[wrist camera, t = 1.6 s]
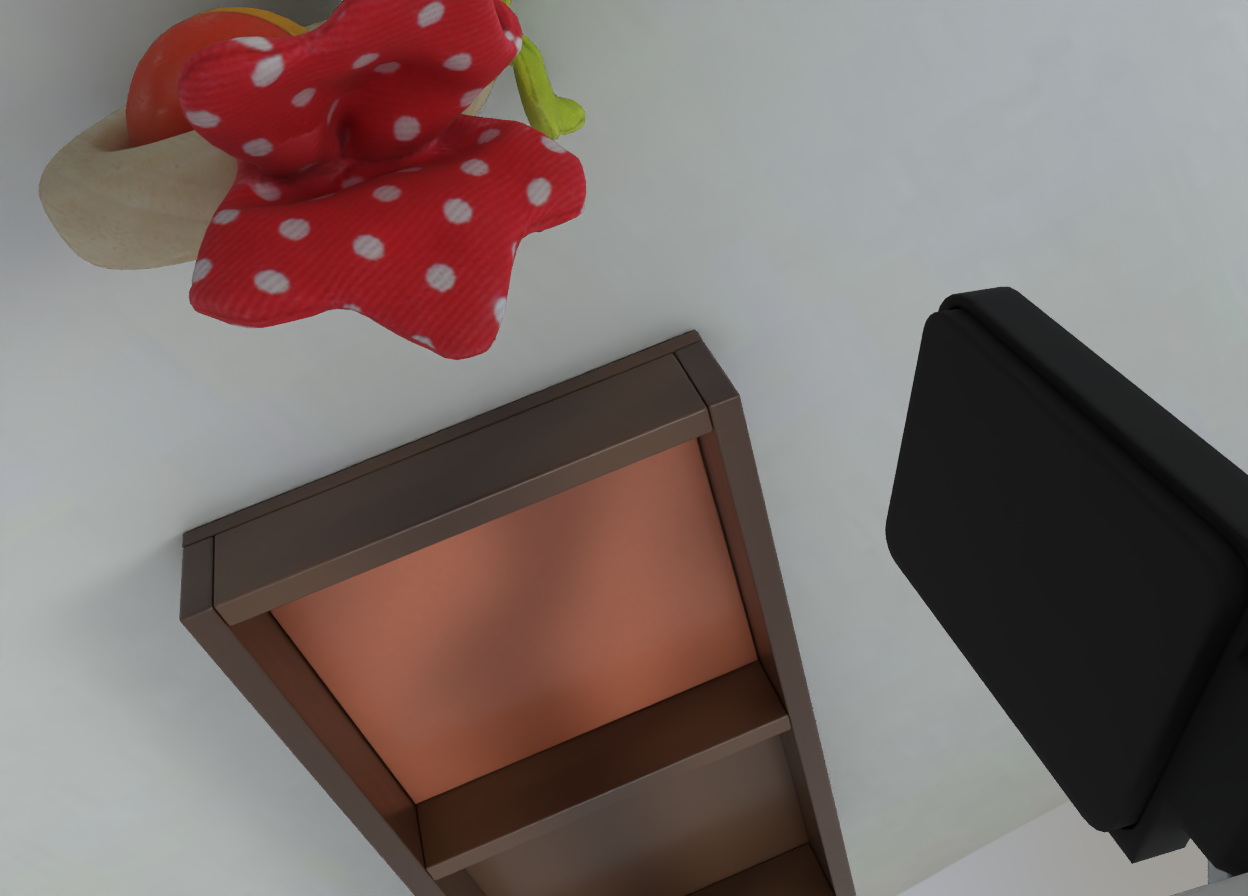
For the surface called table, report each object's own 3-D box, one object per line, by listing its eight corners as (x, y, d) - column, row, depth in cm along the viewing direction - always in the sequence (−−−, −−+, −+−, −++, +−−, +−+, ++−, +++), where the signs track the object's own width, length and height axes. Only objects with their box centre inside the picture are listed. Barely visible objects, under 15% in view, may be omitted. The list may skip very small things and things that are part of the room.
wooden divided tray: (695, 328, 26) (739, 394, 24) (824, 832, 43) (856, 898, 41) (182, 533, 25) (177, 620, 23) (519, 964, 43) (536, 1039, 40)
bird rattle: (309, 187, 23) (690, 61, 20) (86, 587, 16) (643, 478, 13) (120, -93, 19) (561, -301, 16) (-304, 262, 12) (380, -7, 9)
